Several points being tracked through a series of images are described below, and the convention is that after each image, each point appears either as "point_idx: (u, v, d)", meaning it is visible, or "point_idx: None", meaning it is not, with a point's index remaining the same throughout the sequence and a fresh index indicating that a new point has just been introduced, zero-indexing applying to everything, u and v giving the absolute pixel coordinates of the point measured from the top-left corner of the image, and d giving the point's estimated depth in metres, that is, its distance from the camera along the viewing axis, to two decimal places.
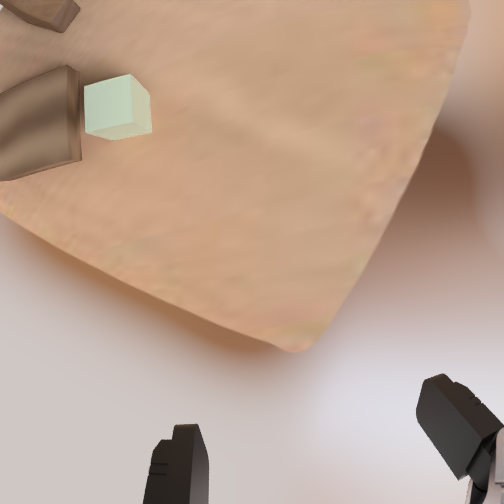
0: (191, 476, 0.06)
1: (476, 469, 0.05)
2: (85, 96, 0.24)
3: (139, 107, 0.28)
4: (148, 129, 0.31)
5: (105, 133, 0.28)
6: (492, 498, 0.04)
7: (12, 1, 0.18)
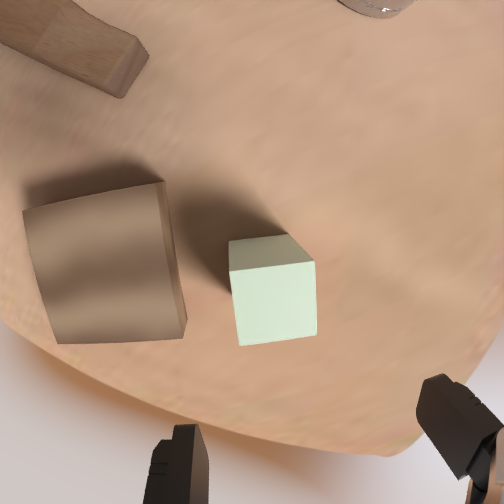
0: (191, 476, 0.06)
1: (476, 469, 0.05)
2: (234, 290, 0.18)
3: None
4: None
5: None
6: (492, 497, 0.04)
7: (28, 45, 0.12)
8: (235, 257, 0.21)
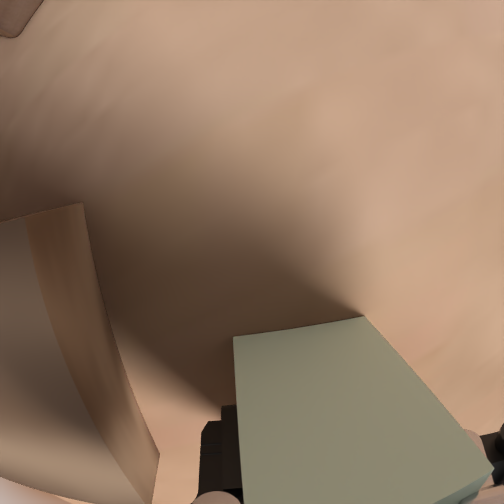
0: None
1: None
2: None
3: None
4: None
5: None
6: None
7: None
8: (260, 444, 0.06)
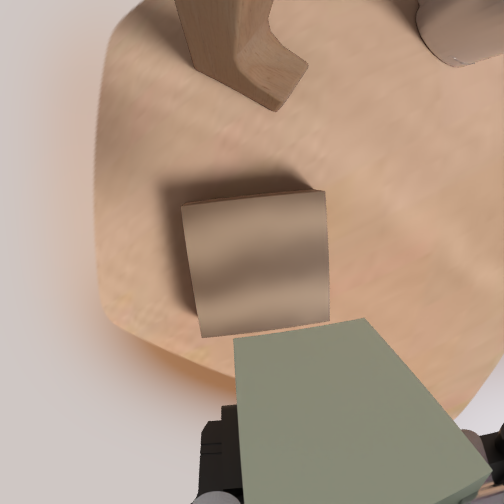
0: None
1: None
2: None
3: None
4: None
5: None
6: None
7: (240, 48, 0.17)
8: (260, 446, 0.06)
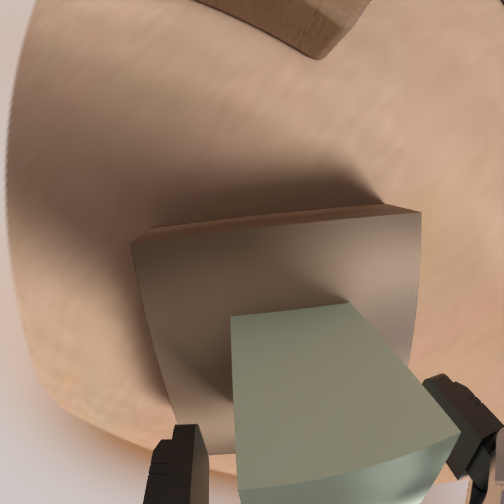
0: (191, 476, 0.06)
1: (476, 469, 0.06)
2: None
3: None
4: None
5: None
6: (492, 498, 0.04)
7: None
8: (251, 401, 0.07)
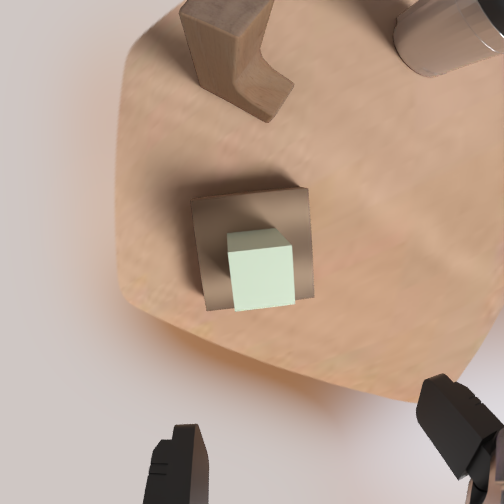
0: (191, 476, 0.06)
1: (476, 469, 0.05)
2: (231, 266, 0.24)
3: None
4: None
5: None
6: (492, 498, 0.04)
7: (237, 76, 0.23)
8: (232, 244, 0.27)
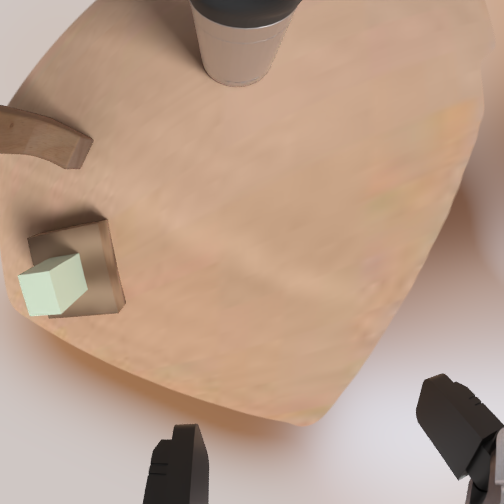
0: (191, 476, 0.06)
1: (476, 469, 0.05)
2: (21, 285, 0.28)
3: (67, 288, 0.32)
4: (82, 293, 0.35)
5: None
6: (492, 498, 0.04)
7: (20, 152, 0.26)
8: (32, 268, 0.31)
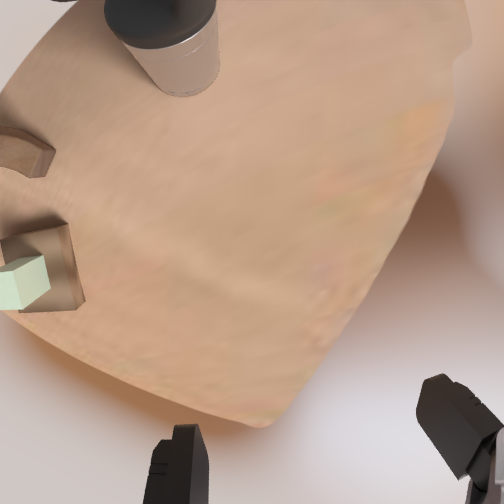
0: (191, 476, 0.06)
1: (476, 469, 0.06)
2: None
3: (29, 286, 0.33)
4: (44, 291, 0.36)
5: None
6: (492, 497, 0.04)
7: None
8: (1, 267, 0.32)
